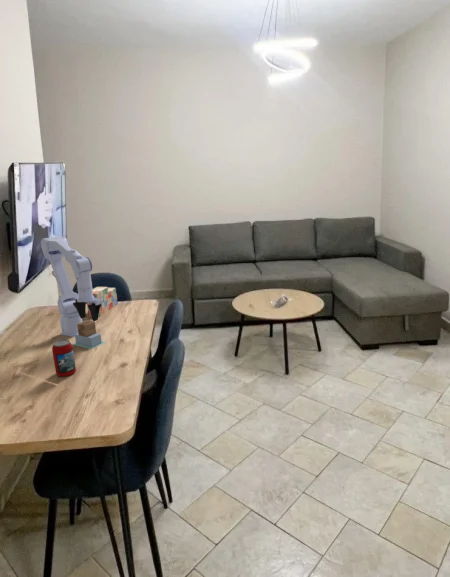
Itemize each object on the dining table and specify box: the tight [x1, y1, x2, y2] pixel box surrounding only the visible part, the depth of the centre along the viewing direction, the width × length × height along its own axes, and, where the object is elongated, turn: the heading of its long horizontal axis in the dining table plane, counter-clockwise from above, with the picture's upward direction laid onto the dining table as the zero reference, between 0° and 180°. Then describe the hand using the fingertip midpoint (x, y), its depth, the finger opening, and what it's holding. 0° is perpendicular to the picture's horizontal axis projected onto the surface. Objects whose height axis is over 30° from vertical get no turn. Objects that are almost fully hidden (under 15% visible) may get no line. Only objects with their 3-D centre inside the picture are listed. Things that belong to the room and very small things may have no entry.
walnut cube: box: [77, 319, 97, 337], centre depth 179 cm, size 5×5×5 cm
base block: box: [74, 332, 102, 347], centre depth 180 cm, size 10×5×4 cm, turn 57°
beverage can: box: [51, 339, 77, 378], centre depth 153 cm, size 7×7×12 cm
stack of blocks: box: [86, 286, 118, 318], centre depth 226 cm, size 21×6×12 cm, turn 169°
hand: (89, 319), depth 180 cm, fingers open, 7 cm apart
